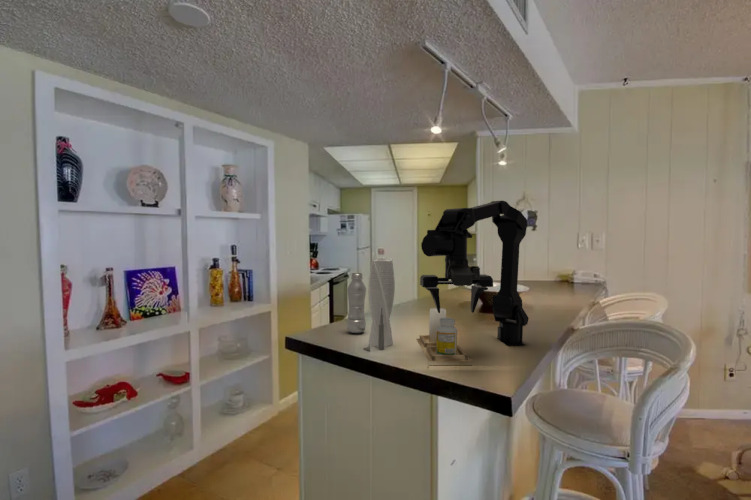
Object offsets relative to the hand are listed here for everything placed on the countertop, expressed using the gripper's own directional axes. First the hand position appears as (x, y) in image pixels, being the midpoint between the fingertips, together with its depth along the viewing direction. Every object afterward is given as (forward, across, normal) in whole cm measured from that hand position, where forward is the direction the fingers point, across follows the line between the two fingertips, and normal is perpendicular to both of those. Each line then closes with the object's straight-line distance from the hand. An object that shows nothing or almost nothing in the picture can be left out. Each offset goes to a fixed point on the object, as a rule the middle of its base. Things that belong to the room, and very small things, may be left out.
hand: (455, 312), depth 107 cm
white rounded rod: (+11, -3, +9) cm, 15 cm away
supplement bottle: (+11, -3, -3) cm, 12 cm away
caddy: (+12, -3, +3) cm, 13 cm away
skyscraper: (+12, -20, +7) cm, 25 cm away
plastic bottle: (+12, -27, +26) cm, 40 cm away
